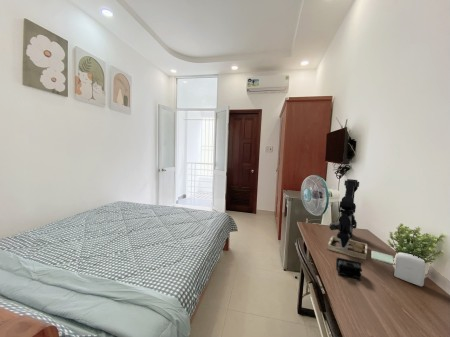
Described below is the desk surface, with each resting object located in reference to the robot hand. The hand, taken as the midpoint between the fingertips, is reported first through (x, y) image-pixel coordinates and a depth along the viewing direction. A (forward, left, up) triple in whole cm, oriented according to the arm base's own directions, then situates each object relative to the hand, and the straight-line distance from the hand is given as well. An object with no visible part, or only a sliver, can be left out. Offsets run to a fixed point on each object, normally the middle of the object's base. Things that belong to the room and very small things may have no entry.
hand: (343, 245), depth 126 cm
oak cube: (-2, +7, -2) cm, 7 cm away
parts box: (0, 0, -1) cm, 1 cm away
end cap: (+30, +5, -2) cm, 30 cm away
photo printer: (+18, +28, -2) cm, 33 cm away
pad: (0, +19, -1) cm, 19 cm away
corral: (0, +2, -1) cm, 2 cm away
